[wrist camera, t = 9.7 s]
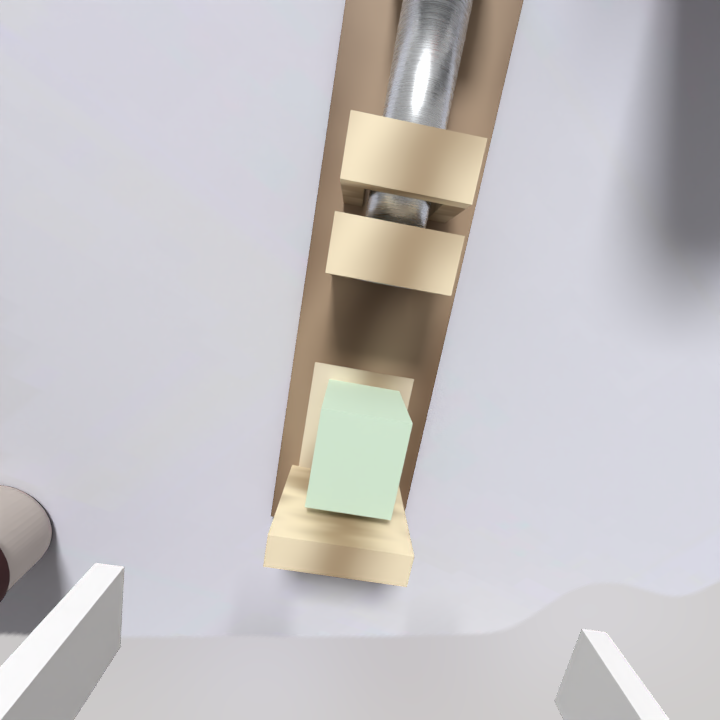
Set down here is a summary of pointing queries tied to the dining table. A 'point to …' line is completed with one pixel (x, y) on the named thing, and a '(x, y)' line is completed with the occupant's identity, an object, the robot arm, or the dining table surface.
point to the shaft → (421, 86)
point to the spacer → (359, 450)
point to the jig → (382, 273)
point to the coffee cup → (20, 535)
